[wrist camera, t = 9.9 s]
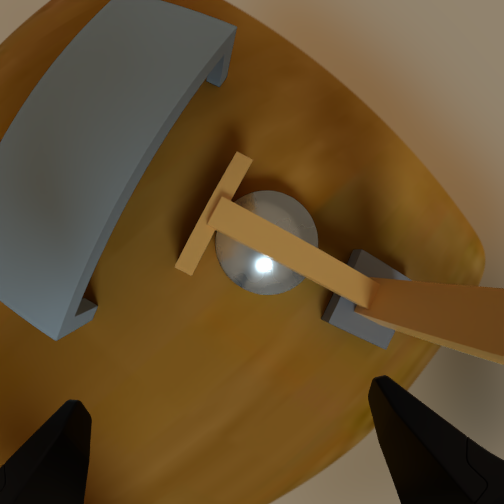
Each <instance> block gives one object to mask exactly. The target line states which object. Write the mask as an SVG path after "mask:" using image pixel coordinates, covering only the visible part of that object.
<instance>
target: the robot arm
mask: <svg viewBox="0 0 504 504" xmlns="http://www.w3.org/2000/svg"><path fill="white" fill-rule="evenodd" d="M368 401H369V405H370V409H371V412H372V416H373V420H374V424H375V429H376V433H377V437H378V440H379V444H380V447H381V449H382V452H383V454H384V457H385V460H386V463H387V465H388V468H389V471H390V474H391V476H392V479H393V482H394V485H395V488H396V490H397V493H398V496H399V499H400V502H401V504H504V460H502V459H501V458H499V457H497V456H495V455H494V454H492V453H490V452H489V451H487V450H486V449H484V448H483V447H481V446H480V445H478V444H477V443H476V442H474V441H473V440H472V439H470V438H469V437H467V436H466V435H465V434H463V433H462V432H460V431H459V430H458V429H457V428H455V427H454V426H453V425H451V424H450V423H449V422H447V421H446V420H445V419H443V418H442V417H440V416H439V415H438V414H437V413H435V412H434V411H433V410H431V409H430V408H429V407H427V406H426V405H425V404H423V403H422V402H421V401H419V400H418V399H417V398H416V397H414V396H413V395H412V394H410V393H409V392H408V391H406V390H405V389H404V388H402V387H401V386H400V385H398V384H397V383H396V382H395V381H393V380H392V379H391V378H389V377H388V376H386V375H383V376H379V377H375V378H374V379H373V380H372V383H371V387H370V390H369V394H368ZM91 424H92V420H91V416H90V414H89V412H88V411H87V410H86V408H85V407H84V405H83V404H82V402H81V401H79V400H68V401H66V402H65V403H64V404H63V405H62V406H61V407H60V408H59V409H58V410H57V411H56V412H55V413H54V414H53V415H52V416H51V417H50V418H49V419H48V420H47V421H46V422H45V423H44V424H43V425H42V426H41V427H40V428H39V429H38V430H37V431H36V432H35V433H34V434H33V435H32V436H31V437H30V438H29V439H28V440H27V441H26V442H25V443H24V444H23V445H22V446H21V447H20V448H19V449H18V450H17V451H16V452H15V453H14V454H13V455H12V456H11V457H10V458H9V459H8V460H7V461H6V463H5V464H3V465H2V467H1V468H0V504H84V496H85V488H86V480H87V473H88V466H89V457H90V439H91Z"/></svg>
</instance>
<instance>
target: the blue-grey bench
mask: <svg viewBox="0 0 504 504" xmlns="http://www.w3.org/2000/svg"><path fill="white" fill-rule="evenodd" d="M236 30H237V27H236V26H234V25H232V24H229V23H227V22H224V21H221V20H219V19H216V18H213V17H211V16H208V15H205V14H202V13H199V12H197V11H194V10H191V9H188V8H184V7H181V6H178V5H175V4H171V3H168V2H165V1H161V0H111V1H110V2H109V3H108V4H107V5H106V6H105V7H103V8H102V9H101V10H100V11H99V12H98V13H97V14H96V15H95V16H94V17H93V18H92V19H91V20H90V21H89V22H88V24H87V25H86V26H85V27H84V28H83V29H82V30H81V31H80V32H79V33H78V34H77V35H76V36H75V38H74V39H73V40H72V41H71V42H70V43H69V44H68V46H67V47H66V48H65V49H64V50H63V51H62V53H61V54H60V55H59V56H58V58H57V59H56V60H55V61H54V63H53V64H52V65H51V66H50V68H49V69H48V70H47V72H46V73H45V74H44V76H43V77H42V78H41V80H40V81H39V82H38V84H37V85H36V87H35V88H34V89H33V91H32V92H31V94H30V95H29V97H28V98H27V100H26V101H25V103H24V104H23V106H22V107H21V109H20V110H19V112H18V113H17V115H16V117H15V118H14V120H13V122H12V123H11V125H10V127H9V128H8V130H7V132H6V134H5V135H4V137H3V139H2V141H1V142H0V301H1V302H3V303H4V304H5V305H6V306H8V307H9V308H10V309H12V310H13V311H14V312H16V313H17V314H18V315H20V316H21V317H22V318H24V319H25V320H26V321H28V322H29V323H30V324H32V325H33V326H35V327H36V328H38V329H39V330H40V331H42V332H43V333H45V334H46V335H48V336H49V337H51V338H52V339H54V340H55V341H57V340H59V339H61V338H62V337H64V336H66V335H67V334H69V333H71V332H72V331H74V330H76V329H78V328H79V327H81V326H83V325H84V324H86V323H88V322H89V321H91V320H92V319H93V317H94V314H95V312H96V309H97V307H98V306H97V305H96V304H94V303H92V302H90V301H89V300H87V299H85V298H83V299H82V297H83V294H84V292H85V290H86V287H87V285H88V282H89V280H90V278H91V276H92V273H93V271H94V269H95V267H96V264H97V262H98V260H99V258H100V256H101V254H102V251H103V249H104V247H105V245H106V243H107V241H108V239H109V237H110V235H111V233H112V231H113V229H114V227H115V225H116V223H117V221H118V219H119V217H120V215H121V213H122V211H123V209H124V208H125V206H126V204H127V202H128V200H129V198H130V196H131V195H132V193H133V191H134V189H135V187H136V186H137V184H138V182H139V180H140V178H141V177H142V175H143V173H144V172H145V170H146V168H147V166H148V165H149V163H150V161H151V160H152V158H153V156H154V155H155V153H156V151H157V150H158V148H159V147H160V145H161V143H162V142H163V140H164V139H165V137H166V136H167V134H168V132H169V131H170V129H171V128H172V126H173V125H174V123H175V122H176V120H177V119H178V117H179V116H180V114H181V113H182V111H183V110H184V108H185V107H186V105H187V104H188V102H189V101H190V100H191V98H192V97H193V95H194V94H195V93H196V91H197V90H198V88H199V87H200V86H201V84H202V83H203V81H204V80H205V79H206V77H207V82H209V83H212V84H214V85H216V86H218V87H220V86H221V84H222V83H223V82H224V80H225V79H226V77H227V73H228V68H229V63H230V58H231V53H232V48H233V44H234V39H235V34H236Z"/></svg>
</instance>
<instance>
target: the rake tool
mask: <svg viewBox="0 0 504 504" xmlns="http://www.w3.org/2000/svg"><path fill="white" fill-rule="evenodd" d="M252 161H253V160H252V159H250V158H249V157H247V156H245V155H243V154H241V153H239V152H236V154H235V155H234V157H233V159H232V161H231V162H230V164H229V166H228V168H227V169H226V171H225V173H224V175H223V177H222V178H221V180H220V182H219V184H218V185H217V187H216V189H215V191H214V193H213V195H212V196H211V198H210V200H209V202H208V204H207V205H206V207H205V209H204V211H203V213H202V215H201V217H200V219H199V220H198V222H197V224H196V226H195V228H194V230H193V232H192V234H191V236H190V237H189V239H188V241H187V243H186V245H185V247H184V249H183V251H182V253H181V255H180V257H179V259H178V261H177V263H176V265H175V268H177V269H179V270H181V271H183V272H185V273H187V274H189V275H191V276H192V274H193V272H194V270H195V268H196V266H197V264H198V262H199V260H200V258H201V257H202V255H203V253H204V251H205V249H206V247H207V245H208V243H209V241H210V239H211V237H212V235H213V233H214V231H215V230H216V231H218V232H220V233H222V234H224V235H226V236H228V237H230V238H232V239H233V240H235V241H237V242H239V243H241V244H243V245H245V246H247V247H249V248H251V249H253V250H254V251H256V252H258V253H260V254H262V255H264V256H266V257H268V258H270V259H272V260H273V261H275V262H277V263H279V264H281V265H283V266H285V267H287V268H289V269H291V270H293V271H294V272H296V273H298V274H300V275H302V276H304V277H306V278H308V279H310V280H312V281H313V282H315V283H317V284H319V285H321V286H323V287H325V288H327V289H329V290H331V291H332V292H334V294H333V296H332V298H331V300H330V302H329V304H328V306H327V308H326V310H325V312H324V314H323V316H322V318H321V319H322V320H324V321H326V322H328V323H330V324H332V325H334V326H336V327H339V328H341V329H343V330H345V331H347V332H349V333H351V334H353V335H355V336H358V337H360V338H362V339H364V340H366V341H368V342H370V343H373V344H375V345H377V346H379V347H381V348H383V349H387V347H388V344H389V342H390V340H391V338H392V336H393V334H394V332H395V330H396V331H399V332H402V333H405V334H408V335H411V336H414V337H417V338H420V339H423V340H426V341H429V342H432V343H435V344H438V345H441V346H445V347H448V348H451V349H454V350H457V351H460V352H463V353H467V354H470V355H473V356H476V357H479V358H482V359H486V360H489V361H492V362H496V363H499V364H502V365H504V289H503V288H490V287H478V286H466V285H454V284H442V283H430V282H419V281H412V280H410V279H409V278H407V277H405V276H404V275H402V274H401V273H399V272H398V271H396V270H395V269H393V268H391V267H390V266H388V265H387V264H385V263H383V262H382V261H380V260H379V259H377V258H375V257H374V256H372V255H371V254H369V253H367V252H366V251H364V250H362V249H358V250H353V252H352V254H351V256H350V259H349V261H348V263H347V265H346V264H344V263H343V262H341V261H339V260H337V259H336V258H334V257H332V256H330V255H329V254H327V253H325V252H323V251H321V250H320V249H318V248H316V247H314V246H313V245H311V244H309V243H307V242H305V241H304V240H302V239H300V238H298V237H296V236H295V235H293V234H291V233H289V232H287V231H285V230H284V229H282V228H280V227H278V226H276V225H275V224H273V223H271V222H269V221H267V220H265V219H263V218H262V217H260V216H258V215H256V214H254V213H252V212H250V211H249V210H247V209H245V208H243V207H241V206H239V205H237V204H235V203H234V202H232V201H231V199H232V197H233V196H234V194H235V192H236V190H237V188H238V186H239V185H240V183H241V181H242V179H243V177H244V175H245V174H246V172H247V170H248V168H249V166H250V165H251V163H252Z"/></svg>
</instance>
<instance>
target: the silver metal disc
mask: <svg viewBox="0 0 504 504" xmlns="http://www.w3.org/2000/svg"><path fill="white" fill-rule="evenodd" d="M234 203H235V204H237V205H239V206H241V207H243V208H245V209H247V210H249V211H250V212H252V213H254V214H256V215H258V216H260V217H262V218H263V219H265V220H267V221H269V222H271V223H273V224H275V225H276V226H278V227H280V228H282V229H284V230H285V231H287V232H289V233H291V234H293V235H295V236H296V237H298V238H300V239H302V240H304V241H305V242H307V243H309V244H311V245H313V246H314V247H316V248H318V235H317V230H316V227H315V224H314V221H313V219H312V217H311V216H310V214H309V213H308V211H307V210H306V209H305V208H304V206H303V205H301V204H300V203H299V202H298V201H297V200H295V199H294V198H292V197H290V196H288V195H286V194H284V193H281V192H276V191H268V190H266V191H257V192H253V193H250V194H247V195H245V196H243V197H241V198H240V199H238V200H237V201H235V202H234ZM215 249H216V254H217V258H218V261H219V264H220V266H221V267H222V269H223V271H224V272H225V274H226V275H227V276H228V277H229V278H230V279H231V280H232V281H233V282H234V283H236V284H237V285H239V286H240V287H242V288H244V289H246V290H248V291H250V292H253V293H257V294H263V295H273V294H279V293H283V292H285V291H288V290H290V289H292V288H294V287H295V286H297V285H298V284H299V283H301V282H302V281H303V280H304V279H305V278H306V277H304V276H302V275H300V274H298V273H296V272H294V271H293V270H291V269H289V268H287V267H285V266H283V265H281V264H279V263H277V262H275V261H273V260H272V259H270V258H268V257H266V256H264V255H262V254H260V253H258V252H256V251H254V250H253V249H251V248H249V247H247V246H245V245H243V244H241V243H239V242H237V241H235V240H233V239H232V238H230V237H228V236H226V235H224V234H222V233H220V232H218V231H216V237H215Z"/></svg>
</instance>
